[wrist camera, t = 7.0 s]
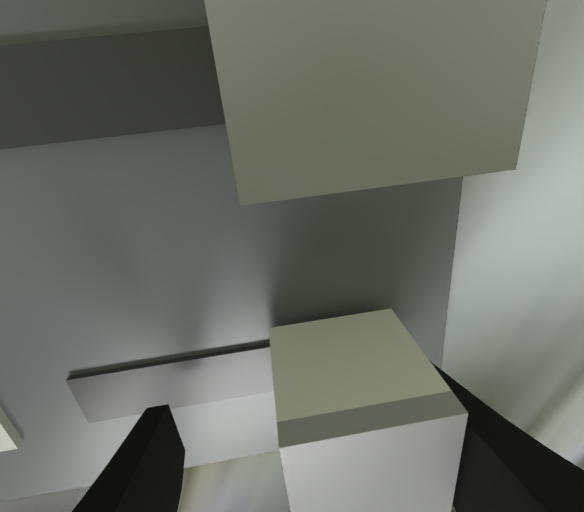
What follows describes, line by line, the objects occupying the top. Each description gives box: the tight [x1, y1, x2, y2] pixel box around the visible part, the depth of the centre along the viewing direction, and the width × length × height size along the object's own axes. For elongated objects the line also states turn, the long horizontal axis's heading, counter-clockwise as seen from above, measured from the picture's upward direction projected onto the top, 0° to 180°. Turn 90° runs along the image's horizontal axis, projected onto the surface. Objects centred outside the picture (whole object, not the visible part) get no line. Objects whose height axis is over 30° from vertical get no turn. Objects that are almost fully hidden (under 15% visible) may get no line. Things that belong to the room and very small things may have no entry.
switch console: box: [0, 0, 463, 502], centre depth 10 cm, size 18×18×1 cm
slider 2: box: [269, 309, 468, 512], centre depth 9 cm, size 4×4×4 cm
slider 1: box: [204, 0, 547, 206], centre depth 5 cm, size 4×4×4 cm
